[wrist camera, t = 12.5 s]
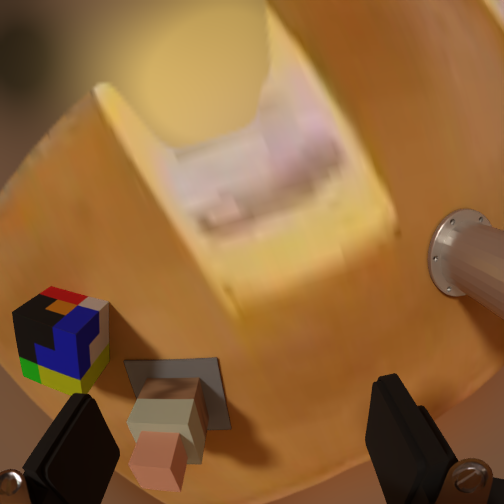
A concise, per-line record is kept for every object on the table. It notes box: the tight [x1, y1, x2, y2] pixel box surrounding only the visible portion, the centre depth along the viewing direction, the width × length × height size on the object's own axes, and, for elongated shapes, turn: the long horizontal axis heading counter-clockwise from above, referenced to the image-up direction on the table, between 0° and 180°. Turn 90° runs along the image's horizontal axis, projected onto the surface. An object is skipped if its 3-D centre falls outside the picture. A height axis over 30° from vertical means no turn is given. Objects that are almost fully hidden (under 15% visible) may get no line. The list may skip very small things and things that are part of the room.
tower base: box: [137, 377, 209, 439], centre depth 42 cm, size 8×8×5 cm
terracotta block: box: [128, 431, 188, 492], centre depth 32 cm, size 5×5×6 cm
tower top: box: [127, 399, 205, 464], centre depth 37 cm, size 8×8×5 cm
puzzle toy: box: [12, 286, 110, 396], centre depth 37 cm, size 10×10×10 cm
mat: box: [123, 357, 231, 430], centre depth 44 cm, size 14×14×1 cm
